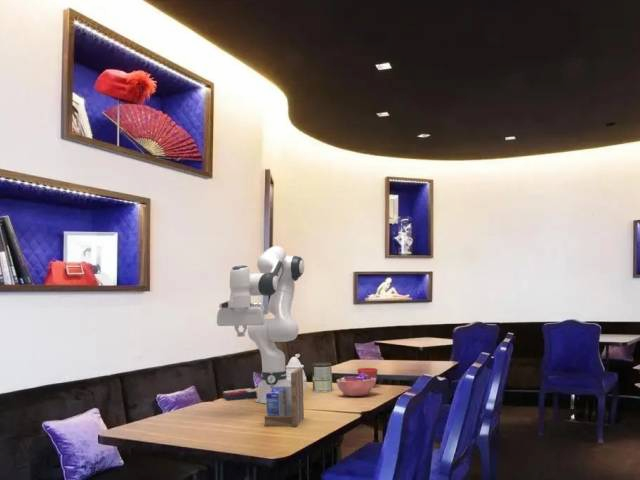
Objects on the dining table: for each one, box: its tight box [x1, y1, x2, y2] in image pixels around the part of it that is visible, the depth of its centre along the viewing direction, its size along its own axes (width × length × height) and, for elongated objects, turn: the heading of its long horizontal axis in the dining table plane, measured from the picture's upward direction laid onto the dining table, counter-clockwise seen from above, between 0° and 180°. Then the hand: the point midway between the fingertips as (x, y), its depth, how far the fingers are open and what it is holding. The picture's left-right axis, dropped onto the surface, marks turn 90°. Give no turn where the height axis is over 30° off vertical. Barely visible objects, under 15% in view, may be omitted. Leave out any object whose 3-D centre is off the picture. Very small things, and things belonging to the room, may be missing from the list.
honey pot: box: [285, 353, 308, 389], centre depth 332 cm, size 13×13×18 cm
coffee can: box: [311, 362, 333, 393], centre depth 317 cm, size 10×10×14 cm
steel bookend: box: [271, 386, 292, 416], centre depth 248 cm, size 4×11×13 cm, turn 82°
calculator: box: [221, 388, 258, 402], centre depth 303 cm, size 11×4×15 cm
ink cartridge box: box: [266, 385, 285, 416], centre depth 240 cm, size 10×6×14 cm, turn 171°
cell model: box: [336, 372, 377, 397], centre depth 299 cm, size 17×20×11 cm
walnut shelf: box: [264, 367, 305, 428], centre depth 240 cm, size 18×12×20 cm
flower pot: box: [357, 367, 378, 389], centre depth 326 cm, size 11×11×10 cm
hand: (241, 336), depth 257 cm, fingers closed
